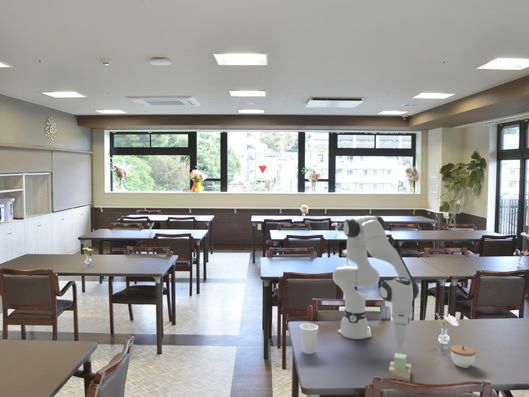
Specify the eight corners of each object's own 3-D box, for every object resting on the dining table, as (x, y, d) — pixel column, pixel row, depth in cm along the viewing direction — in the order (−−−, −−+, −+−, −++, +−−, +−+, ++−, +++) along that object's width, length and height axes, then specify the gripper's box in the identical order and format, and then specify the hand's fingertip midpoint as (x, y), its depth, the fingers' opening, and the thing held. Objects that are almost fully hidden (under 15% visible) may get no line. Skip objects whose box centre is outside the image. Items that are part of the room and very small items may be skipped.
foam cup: (316, 356, 217) (317, 330, 217) (298, 354, 219) (298, 329, 219) (318, 348, 227) (318, 324, 226) (300, 347, 229) (301, 322, 228)
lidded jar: (473, 372, 201) (473, 352, 201) (448, 366, 207) (449, 347, 207) (475, 363, 211) (476, 344, 210) (452, 358, 216) (452, 340, 216)
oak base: (390, 369, 203) (390, 361, 203) (410, 372, 200) (411, 364, 200) (388, 377, 195) (388, 369, 195) (409, 381, 192) (410, 372, 191)
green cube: (394, 363, 201) (395, 352, 200) (406, 365, 199) (406, 354, 198) (393, 367, 196) (394, 357, 196) (405, 369, 194) (405, 359, 194)
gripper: (396, 305, 207) (395, 334, 208) (392, 320, 188) (391, 351, 189) (410, 307, 204) (409, 336, 206) (408, 322, 185) (406, 353, 187)
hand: (400, 343), depth 197 cm, fingers open, 8 cm apart
